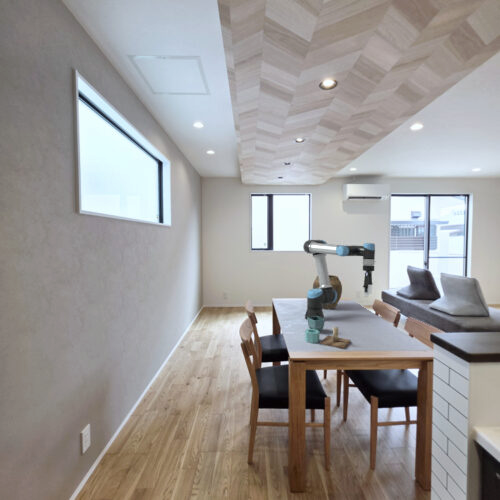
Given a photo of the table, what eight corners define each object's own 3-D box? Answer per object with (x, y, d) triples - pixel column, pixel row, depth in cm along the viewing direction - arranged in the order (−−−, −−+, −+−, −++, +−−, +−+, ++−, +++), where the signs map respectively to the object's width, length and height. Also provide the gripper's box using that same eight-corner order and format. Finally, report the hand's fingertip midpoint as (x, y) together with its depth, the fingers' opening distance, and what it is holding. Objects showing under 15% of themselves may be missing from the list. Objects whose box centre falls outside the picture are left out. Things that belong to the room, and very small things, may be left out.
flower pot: (315, 333, 180) (315, 320, 180) (306, 330, 188) (306, 317, 188) (325, 332, 184) (325, 318, 184) (316, 328, 192) (316, 315, 192)
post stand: (320, 343, 163) (320, 328, 162) (328, 337, 174) (328, 323, 174) (343, 349, 155) (344, 333, 154) (350, 341, 166) (350, 327, 166)
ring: (303, 341, 167) (303, 331, 167) (308, 337, 173) (308, 328, 173) (315, 344, 162) (316, 334, 162) (320, 340, 169) (320, 330, 169)
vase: (308, 304, 263) (309, 274, 263) (334, 304, 266) (335, 274, 265) (318, 311, 237) (318, 277, 237) (346, 311, 240) (347, 277, 239)
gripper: (371, 266, 176) (370, 299, 177) (376, 264, 197) (375, 293, 198) (359, 266, 180) (358, 297, 181) (365, 263, 201) (365, 291, 202)
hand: (367, 295), depth 190 cm, fingers open, 13 cm apart
